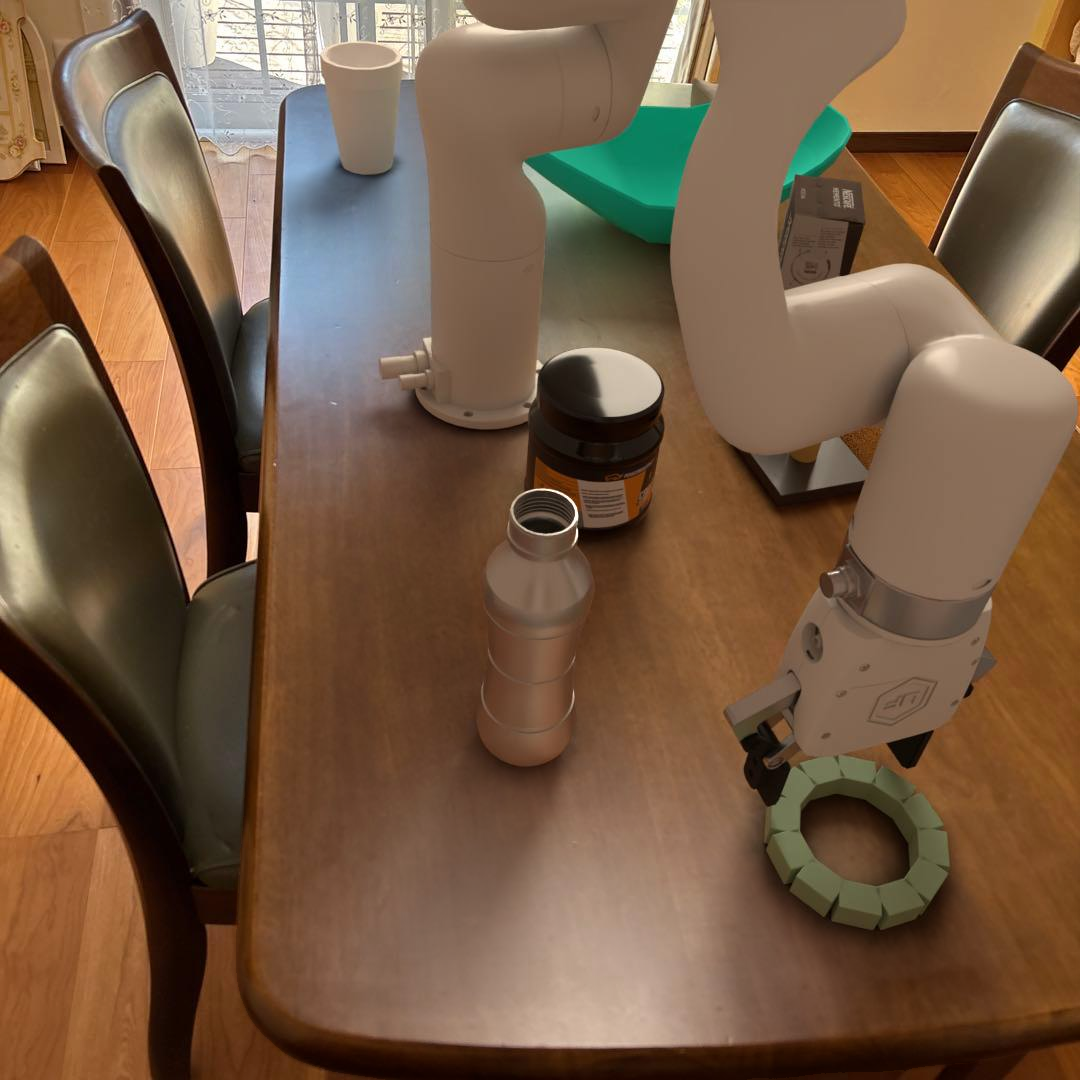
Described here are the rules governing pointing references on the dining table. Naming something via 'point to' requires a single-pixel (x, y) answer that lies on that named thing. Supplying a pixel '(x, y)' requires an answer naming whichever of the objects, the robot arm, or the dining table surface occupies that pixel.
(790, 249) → the coffee box
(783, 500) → the peg stand
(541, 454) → the supplement container
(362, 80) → the foam cup
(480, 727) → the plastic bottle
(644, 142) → the table top decor
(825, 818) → the dining table surface
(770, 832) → the ring
